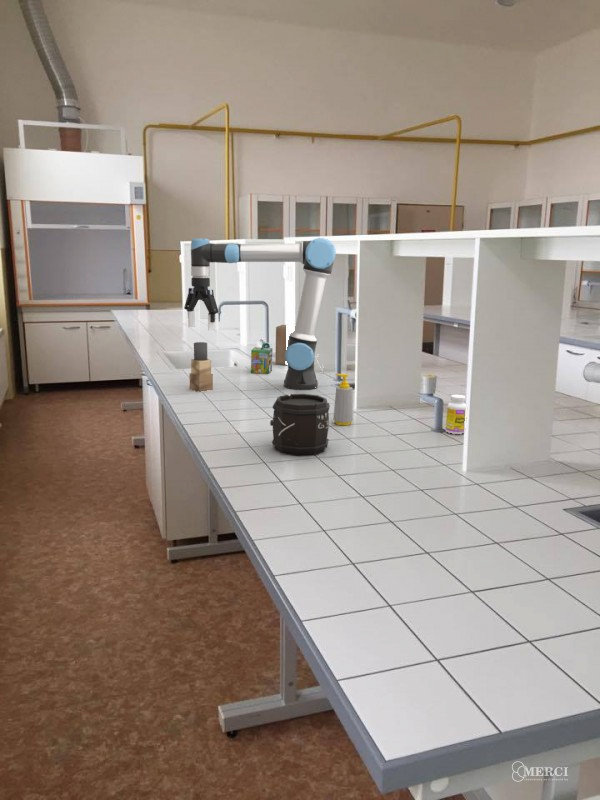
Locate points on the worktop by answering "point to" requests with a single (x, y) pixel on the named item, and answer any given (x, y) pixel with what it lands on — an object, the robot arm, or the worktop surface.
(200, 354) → the stopper
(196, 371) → the oak cube
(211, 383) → the walnut cube
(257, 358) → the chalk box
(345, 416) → the soap bottle
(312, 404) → the wooden barrel
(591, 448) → the worktop surface
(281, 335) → the block
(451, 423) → the supplement bottle
